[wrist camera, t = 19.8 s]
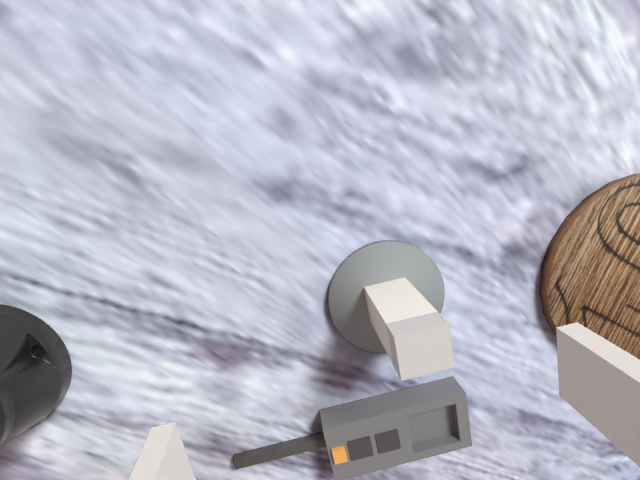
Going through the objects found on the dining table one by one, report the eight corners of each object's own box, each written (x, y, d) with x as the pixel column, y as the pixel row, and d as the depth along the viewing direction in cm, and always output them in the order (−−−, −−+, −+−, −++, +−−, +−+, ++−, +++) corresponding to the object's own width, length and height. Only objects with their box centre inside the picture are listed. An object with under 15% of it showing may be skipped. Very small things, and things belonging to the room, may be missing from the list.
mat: (312, 333, 47) (313, 337, 46) (350, 225, 44) (352, 227, 43) (416, 359, 50) (419, 363, 49) (458, 259, 47) (462, 261, 46)
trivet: (655, 375, 55) (668, 383, 53) (505, 328, 50) (514, 335, 49) (752, 209, 50) (771, 212, 48) (596, 142, 45) (610, 142, 44)
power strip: (243, 482, 51) (240, 509, 47) (227, 433, 49) (223, 457, 45) (459, 426, 53) (474, 448, 49) (453, 376, 51) (467, 395, 47)
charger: (370, 321, 46) (401, 380, 35) (363, 286, 45) (393, 336, 34) (410, 311, 47) (454, 367, 35) (405, 277, 45) (448, 323, 34)
